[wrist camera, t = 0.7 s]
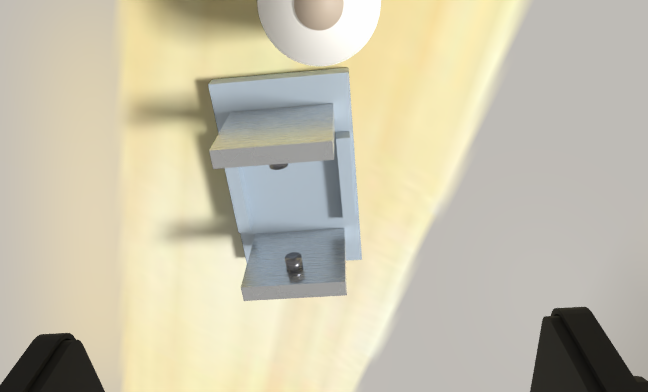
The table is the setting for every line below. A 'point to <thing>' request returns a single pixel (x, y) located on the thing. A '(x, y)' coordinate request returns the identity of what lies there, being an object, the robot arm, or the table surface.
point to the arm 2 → (296, 265)
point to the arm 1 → (275, 137)
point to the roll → (319, 28)
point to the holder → (297, 178)
